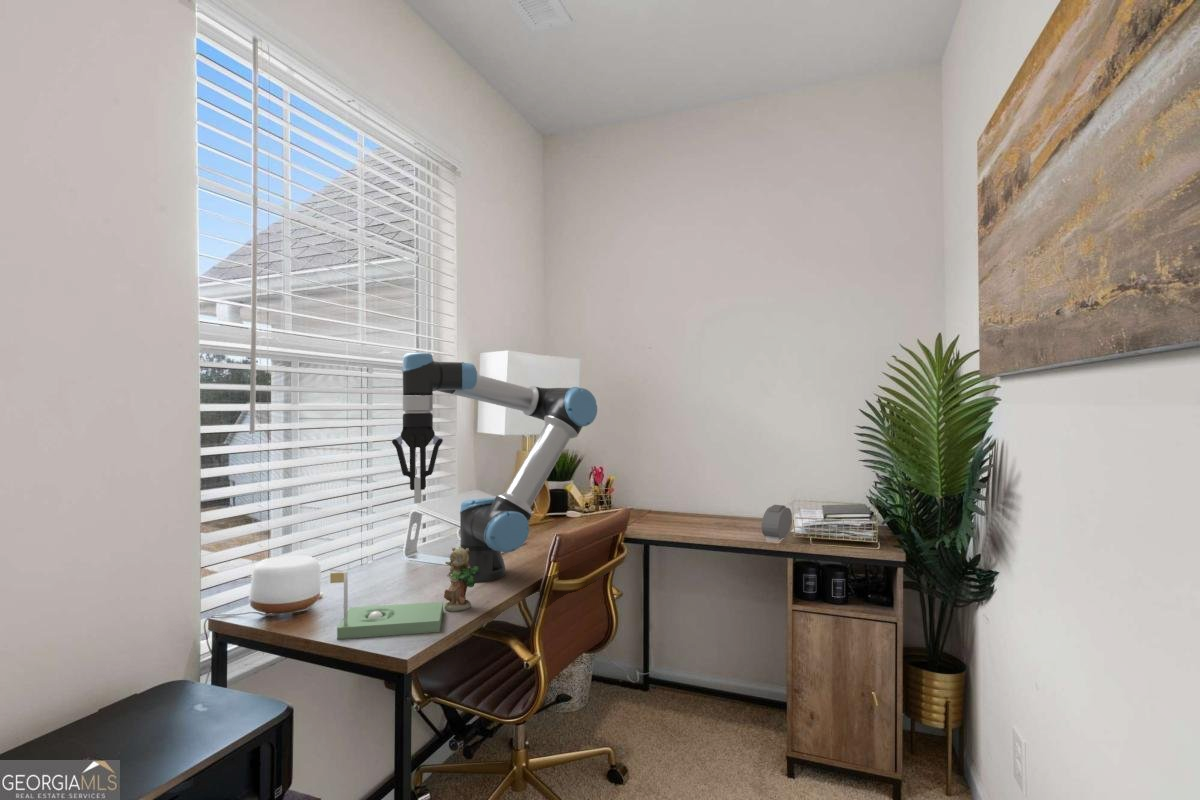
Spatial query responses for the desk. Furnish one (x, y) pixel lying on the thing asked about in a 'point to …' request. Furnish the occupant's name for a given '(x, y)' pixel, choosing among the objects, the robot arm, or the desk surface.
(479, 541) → the robot arm
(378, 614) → the ball
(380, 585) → the desk surface
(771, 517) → the alarm clock
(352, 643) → the desk surface
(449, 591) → the figurine
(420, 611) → the green
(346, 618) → the flag
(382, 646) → the desk surface
